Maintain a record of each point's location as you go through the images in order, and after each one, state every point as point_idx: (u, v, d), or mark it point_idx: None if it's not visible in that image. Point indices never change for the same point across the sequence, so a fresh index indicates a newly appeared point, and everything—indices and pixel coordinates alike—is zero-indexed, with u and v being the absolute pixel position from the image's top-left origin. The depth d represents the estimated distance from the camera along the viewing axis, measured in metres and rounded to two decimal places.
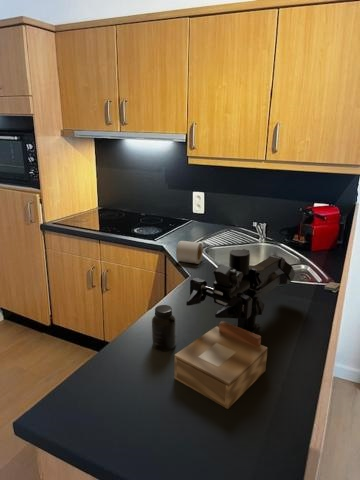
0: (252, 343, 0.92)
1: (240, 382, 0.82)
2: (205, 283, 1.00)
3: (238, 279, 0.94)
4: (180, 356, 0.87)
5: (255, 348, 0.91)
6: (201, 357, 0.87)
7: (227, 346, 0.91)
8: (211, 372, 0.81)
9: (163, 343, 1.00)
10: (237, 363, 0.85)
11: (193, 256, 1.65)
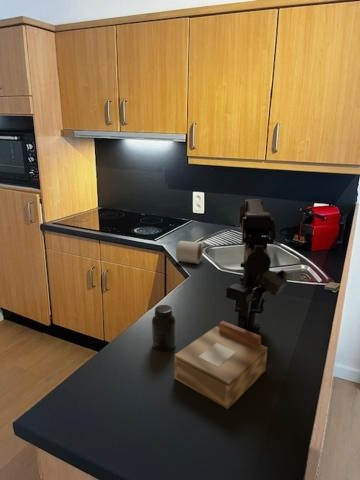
0: (252, 343, 0.92)
1: (240, 382, 0.82)
2: None
3: None
4: (180, 356, 0.87)
5: (255, 348, 0.91)
6: (202, 357, 0.87)
7: (227, 346, 0.91)
8: (211, 372, 0.81)
9: (163, 343, 1.00)
10: (237, 363, 0.85)
11: (193, 256, 1.65)
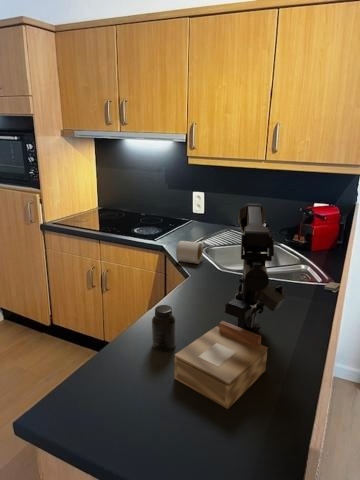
0: (252, 343, 0.92)
1: (240, 382, 0.82)
2: None
3: None
4: (180, 356, 0.87)
5: (255, 348, 0.91)
6: (202, 357, 0.87)
7: (227, 346, 0.91)
8: (211, 372, 0.81)
9: (163, 343, 1.00)
10: (237, 363, 0.85)
11: (193, 256, 1.65)
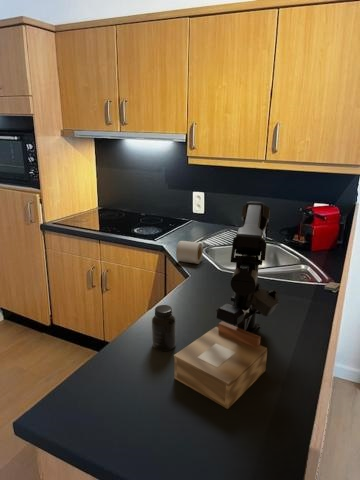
0: (251, 343, 0.92)
1: (240, 382, 0.82)
2: None
3: None
4: (179, 357, 0.87)
5: (254, 348, 0.91)
6: (201, 357, 0.87)
7: (226, 346, 0.91)
8: (210, 373, 0.81)
9: (163, 343, 1.00)
10: (236, 364, 0.84)
11: (193, 256, 1.65)
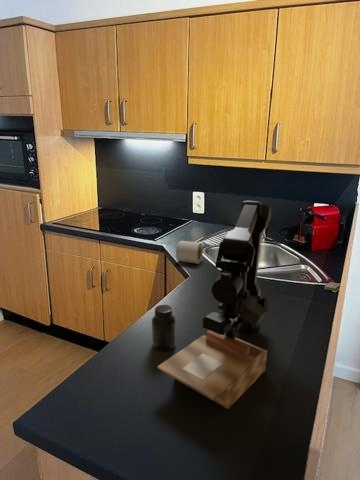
0: (240, 353, 0.88)
1: (240, 382, 0.82)
2: None
3: None
4: (163, 368, 0.83)
5: (242, 359, 0.86)
6: (186, 369, 0.82)
7: (213, 357, 0.87)
8: (195, 386, 0.77)
9: (163, 343, 1.00)
10: (222, 376, 0.80)
11: (193, 256, 1.65)
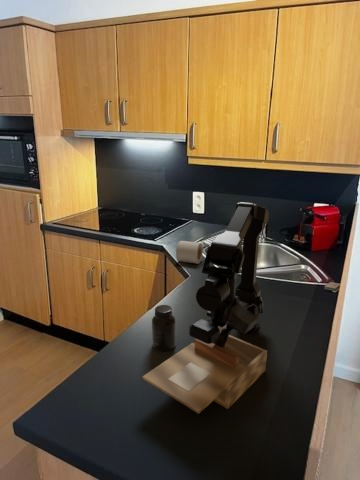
0: (229, 363, 0.84)
1: (240, 382, 0.82)
2: None
3: None
4: (148, 378, 0.79)
5: (231, 368, 0.83)
6: (172, 379, 0.79)
7: (201, 366, 0.83)
8: (180, 398, 0.73)
9: (163, 343, 1.00)
10: (210, 387, 0.77)
11: (193, 256, 1.65)
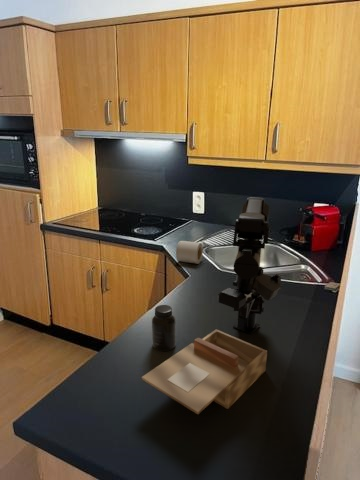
0: (228, 363, 0.84)
1: (240, 382, 0.82)
2: None
3: None
4: (147, 379, 0.79)
5: (231, 369, 0.83)
6: (171, 380, 0.79)
7: (201, 367, 0.83)
8: (179, 398, 0.73)
9: (163, 343, 1.00)
10: (209, 388, 0.76)
11: (193, 256, 1.65)
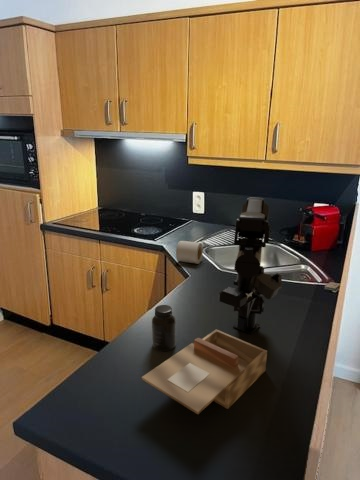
0: (228, 363, 0.84)
1: (240, 382, 0.82)
2: None
3: None
4: (147, 379, 0.79)
5: (231, 369, 0.83)
6: (171, 380, 0.79)
7: (201, 367, 0.83)
8: (179, 398, 0.73)
9: (163, 343, 1.00)
10: (209, 388, 0.76)
11: (193, 256, 1.65)
